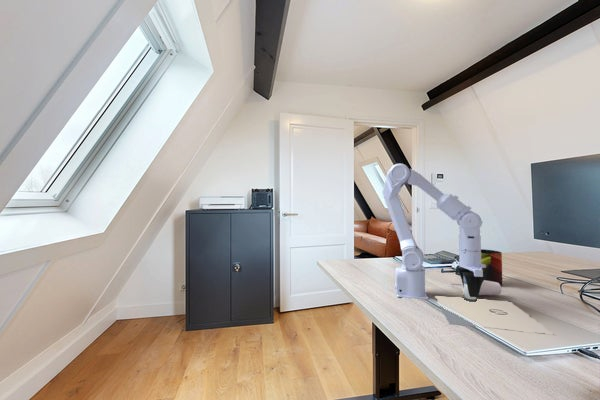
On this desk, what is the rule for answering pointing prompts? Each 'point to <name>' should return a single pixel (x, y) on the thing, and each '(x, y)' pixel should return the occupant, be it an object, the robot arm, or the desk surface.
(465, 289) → the marker
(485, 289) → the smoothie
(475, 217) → the robot arm
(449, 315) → the desk mat
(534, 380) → the desk surface
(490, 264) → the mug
